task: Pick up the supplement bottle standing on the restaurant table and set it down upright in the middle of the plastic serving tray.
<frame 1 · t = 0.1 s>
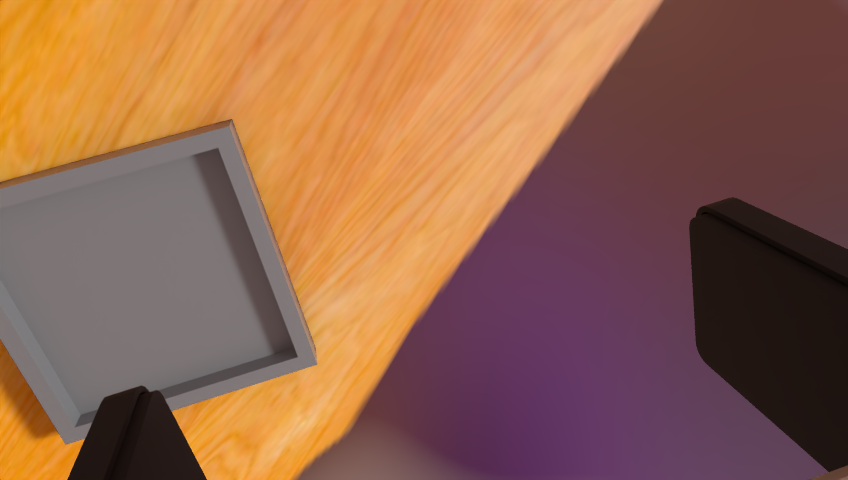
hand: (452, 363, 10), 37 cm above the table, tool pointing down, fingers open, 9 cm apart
serving tray: (148, 282, 47), on the table
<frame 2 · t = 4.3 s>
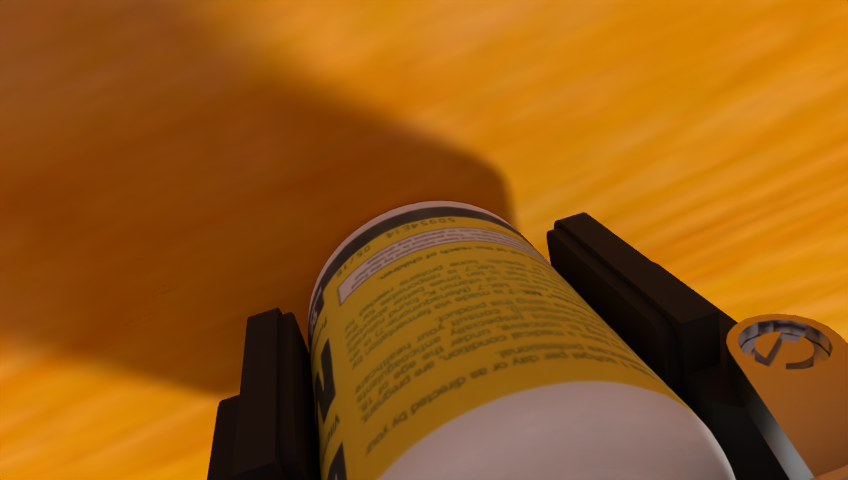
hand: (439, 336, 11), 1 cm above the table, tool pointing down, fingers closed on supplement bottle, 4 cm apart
supplement bottle: (425, 305, 12), on the table, touching gripper
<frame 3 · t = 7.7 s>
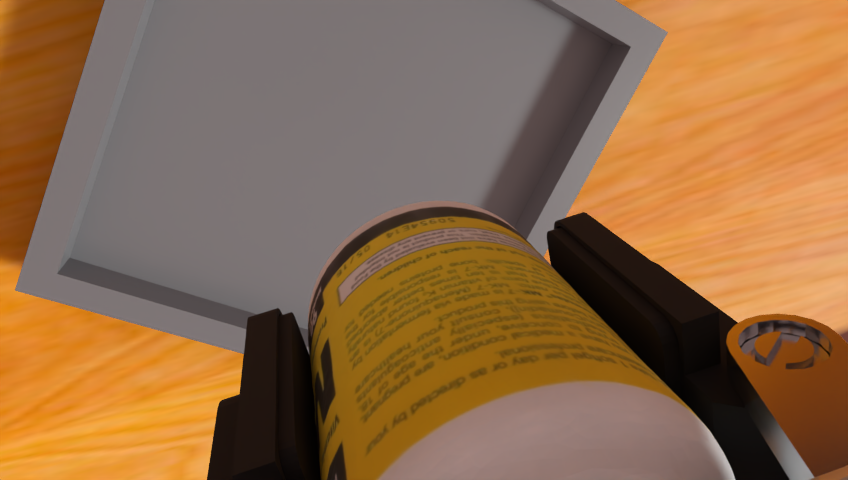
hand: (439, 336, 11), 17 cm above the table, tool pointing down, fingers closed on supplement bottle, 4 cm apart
supplement bottle: (425, 305, 12), point 16 cm above the table, touching gripper
serving tray: (347, 143, 27), on the table
when the fingers open (3 cm above the table, at t = 11.2 s): supplement bottle drops 1 cm, resting on serving tray.
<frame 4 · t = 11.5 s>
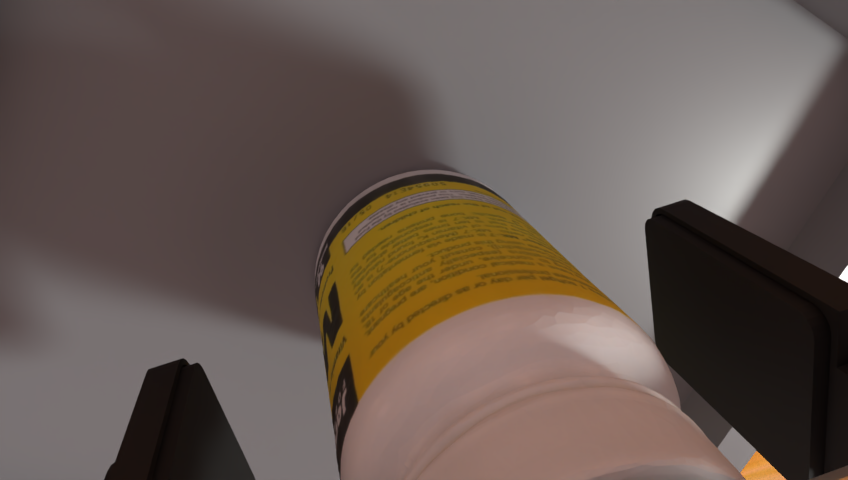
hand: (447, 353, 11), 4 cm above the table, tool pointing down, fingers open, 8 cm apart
supplement bottle: (419, 266, 14), point 1 cm above the table, touching serving tray
serving tray: (405, 262, 14), on the table
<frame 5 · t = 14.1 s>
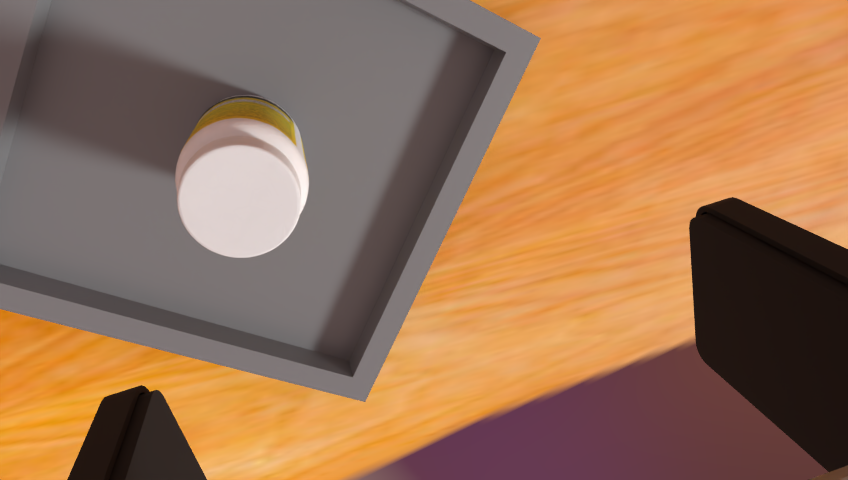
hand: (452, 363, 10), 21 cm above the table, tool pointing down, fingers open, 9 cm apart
supplement bottle: (249, 146, 28), point 1 cm above the table, touching serving tray
serving tray: (246, 146, 29), on the table
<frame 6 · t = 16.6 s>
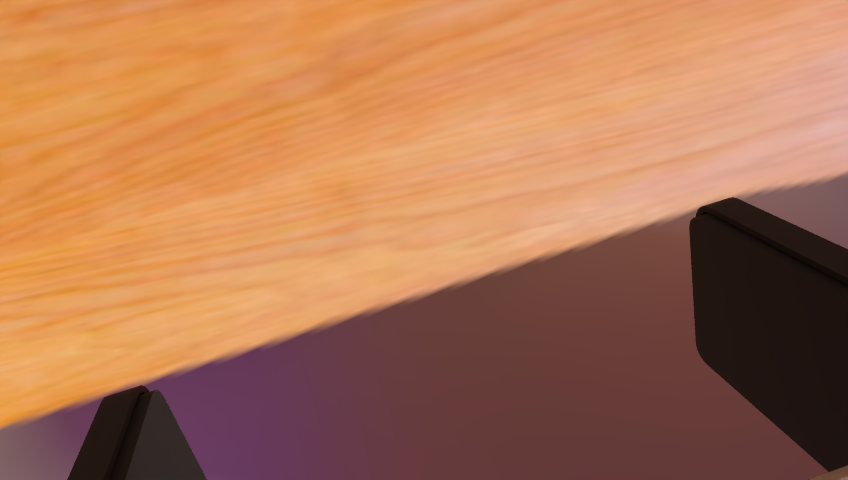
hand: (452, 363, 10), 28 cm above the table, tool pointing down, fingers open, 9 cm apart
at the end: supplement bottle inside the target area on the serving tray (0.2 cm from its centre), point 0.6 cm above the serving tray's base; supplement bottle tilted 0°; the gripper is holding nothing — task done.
